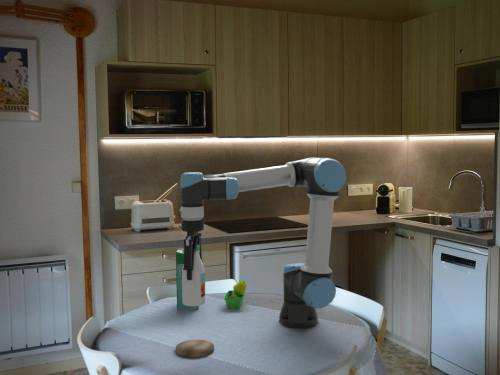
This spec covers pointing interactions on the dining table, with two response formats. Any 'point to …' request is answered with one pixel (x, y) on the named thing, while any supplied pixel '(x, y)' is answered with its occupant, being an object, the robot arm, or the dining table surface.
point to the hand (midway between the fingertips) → (193, 285)
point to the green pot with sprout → (236, 295)
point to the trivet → (194, 348)
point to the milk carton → (179, 281)
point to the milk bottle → (198, 294)
